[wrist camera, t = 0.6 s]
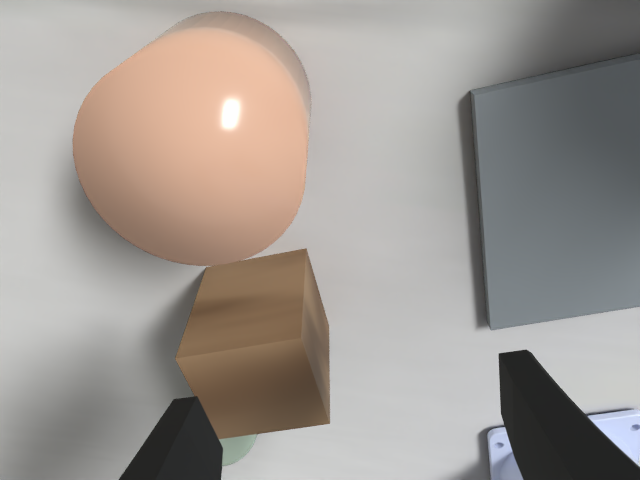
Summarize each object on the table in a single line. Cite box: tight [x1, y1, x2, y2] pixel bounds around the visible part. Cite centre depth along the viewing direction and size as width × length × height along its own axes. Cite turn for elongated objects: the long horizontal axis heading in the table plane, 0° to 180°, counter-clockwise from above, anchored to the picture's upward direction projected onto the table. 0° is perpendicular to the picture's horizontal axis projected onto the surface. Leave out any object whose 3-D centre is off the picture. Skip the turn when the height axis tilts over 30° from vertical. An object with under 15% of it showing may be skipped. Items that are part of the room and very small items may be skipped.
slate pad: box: [470, 53, 640, 330], centre depth 20 cm, size 11×11×1 cm
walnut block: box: [175, 249, 330, 439], centre depth 21 cm, size 4×4×6 cm
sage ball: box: [219, 434, 257, 466], centre depth 25 cm, size 4×4×4 cm
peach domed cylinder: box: [73, 11, 311, 266], centre depth 16 cm, size 6×6×6 cm
